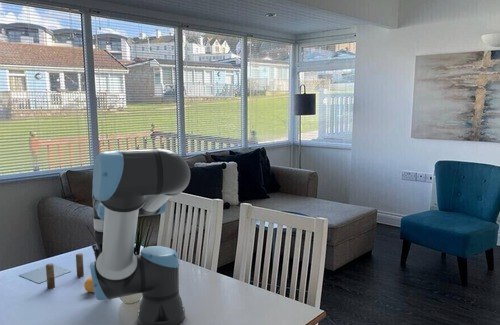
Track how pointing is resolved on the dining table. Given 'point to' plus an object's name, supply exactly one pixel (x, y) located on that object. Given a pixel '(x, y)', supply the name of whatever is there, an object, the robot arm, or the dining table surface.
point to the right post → (79, 265)
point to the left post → (50, 276)
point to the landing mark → (43, 274)
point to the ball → (89, 285)
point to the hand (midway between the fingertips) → (108, 291)
